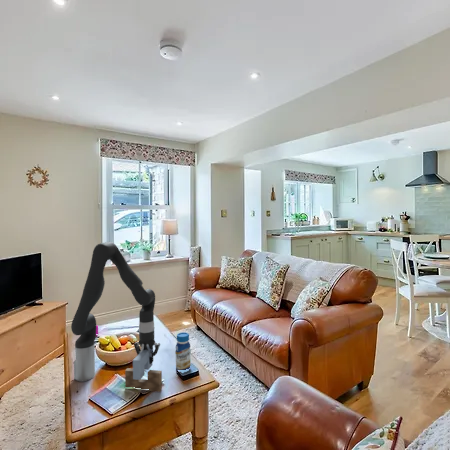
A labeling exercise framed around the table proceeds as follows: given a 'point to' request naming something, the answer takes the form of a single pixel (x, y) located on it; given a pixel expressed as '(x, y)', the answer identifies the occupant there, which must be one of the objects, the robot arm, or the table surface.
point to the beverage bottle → (183, 352)
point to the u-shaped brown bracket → (144, 380)
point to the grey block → (141, 364)
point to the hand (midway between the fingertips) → (147, 362)
